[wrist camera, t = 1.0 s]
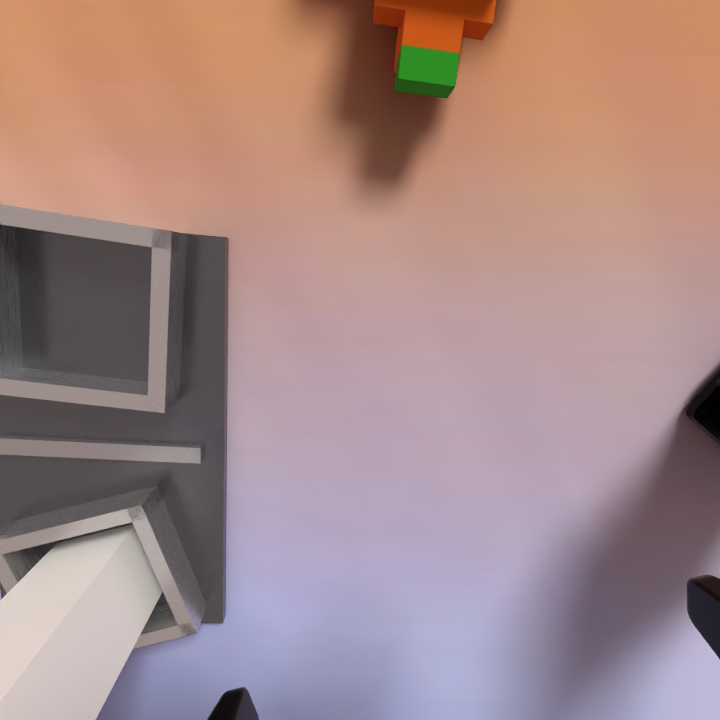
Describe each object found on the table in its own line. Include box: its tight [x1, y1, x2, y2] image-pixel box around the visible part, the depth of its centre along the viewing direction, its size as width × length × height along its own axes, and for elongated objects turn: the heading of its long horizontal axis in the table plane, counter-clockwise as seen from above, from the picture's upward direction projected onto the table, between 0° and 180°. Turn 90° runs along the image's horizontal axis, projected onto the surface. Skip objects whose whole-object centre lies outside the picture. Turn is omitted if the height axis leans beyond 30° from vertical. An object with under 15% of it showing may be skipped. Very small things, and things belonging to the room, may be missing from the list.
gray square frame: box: [0, 486, 207, 649], centre depth 19 cm, size 7×7×2 cm
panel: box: [0, 227, 228, 623], centre depth 19 cm, size 20×11×1 cm, turn 176°
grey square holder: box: [0, 205, 187, 413], centre depth 16 cm, size 7×7×2 cm
